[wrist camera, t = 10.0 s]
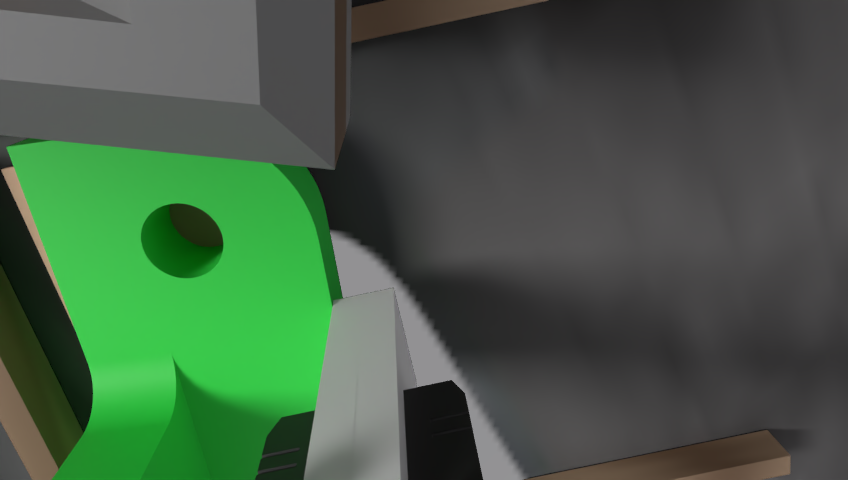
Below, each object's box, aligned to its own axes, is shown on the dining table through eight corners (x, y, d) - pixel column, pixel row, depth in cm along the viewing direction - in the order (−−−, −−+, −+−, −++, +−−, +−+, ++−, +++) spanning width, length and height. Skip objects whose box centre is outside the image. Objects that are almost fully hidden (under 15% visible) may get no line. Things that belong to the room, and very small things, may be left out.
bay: (128, 577, 20) (109, 620, 19) (-113, 108, 15) (-165, 119, 13) (767, 447, 20) (796, 480, 18) (767, -82, 14) (809, -92, 13)
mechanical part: (379, 485, 19) (377, 791, 12) (186, 514, 19) (61, 840, 12) (303, 94, 15) (222, 184, 7) (53, 129, 15) (-280, 255, 7)
